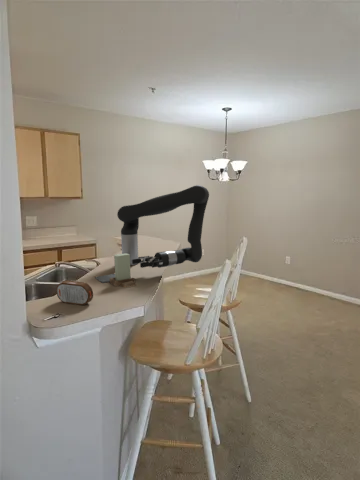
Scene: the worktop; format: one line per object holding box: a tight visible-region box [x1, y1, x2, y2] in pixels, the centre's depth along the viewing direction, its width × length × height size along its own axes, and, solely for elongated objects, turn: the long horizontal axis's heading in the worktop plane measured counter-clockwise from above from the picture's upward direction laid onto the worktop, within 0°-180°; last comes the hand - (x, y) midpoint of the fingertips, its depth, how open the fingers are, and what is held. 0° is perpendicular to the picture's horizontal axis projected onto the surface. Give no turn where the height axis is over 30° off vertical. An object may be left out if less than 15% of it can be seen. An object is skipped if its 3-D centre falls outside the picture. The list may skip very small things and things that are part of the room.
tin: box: [55, 279, 94, 306], centre depth 119 cm, size 15×3×8 cm, turn 71°
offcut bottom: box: [120, 284, 137, 288], centre depth 140 cm, size 4×6×1 cm, turn 124°
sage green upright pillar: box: [113, 253, 132, 281], centre depth 144 cm, size 4×6×13 cm, turn 124°
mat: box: [95, 273, 115, 284], centre depth 152 cm, size 10×14×1 cm
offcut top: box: [121, 281, 137, 288], centre depth 140 cm, size 3×5×1 cm, turn 129°
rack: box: [109, 277, 135, 287], centre depth 145 cm, size 7×9×2 cm
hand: (136, 263), depth 148 cm, fingers open, 8 cm apart
